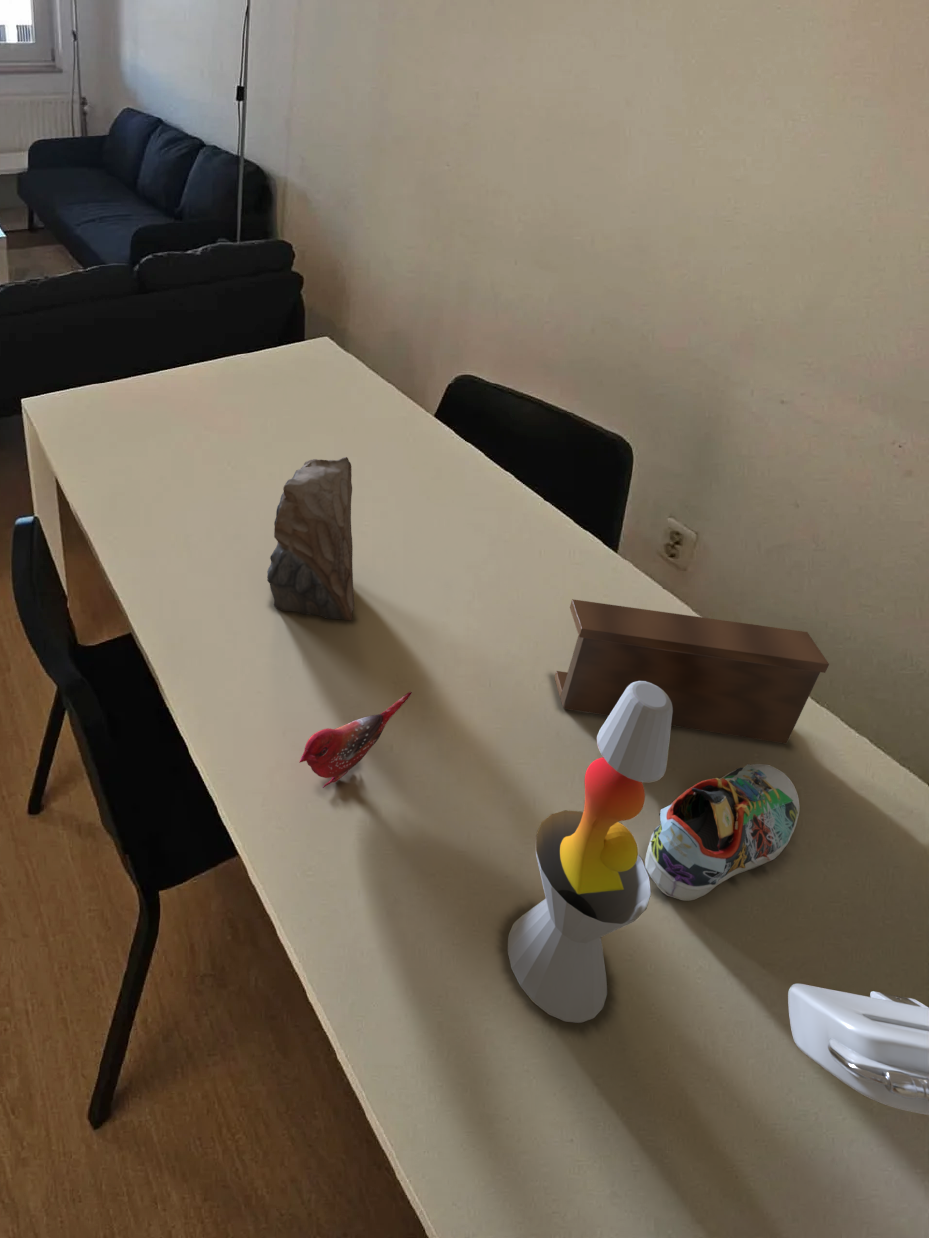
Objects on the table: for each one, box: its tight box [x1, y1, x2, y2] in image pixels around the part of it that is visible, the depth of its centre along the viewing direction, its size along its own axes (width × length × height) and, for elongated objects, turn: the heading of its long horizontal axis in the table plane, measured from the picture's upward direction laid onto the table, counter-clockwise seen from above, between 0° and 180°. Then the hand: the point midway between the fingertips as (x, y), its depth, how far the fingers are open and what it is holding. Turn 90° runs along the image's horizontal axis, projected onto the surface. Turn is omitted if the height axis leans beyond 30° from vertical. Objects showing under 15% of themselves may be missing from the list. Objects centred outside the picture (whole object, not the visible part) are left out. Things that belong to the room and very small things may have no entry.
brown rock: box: [266, 456, 355, 621], centre depth 110 cm, size 13×13×20 cm
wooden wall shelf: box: [554, 598, 830, 745], centre depth 93 cm, size 27×5×13 cm, turn 81°
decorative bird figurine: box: [299, 691, 413, 789], centre depth 86 cm, size 3×18×10 cm, turn 126°
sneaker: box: [644, 763, 800, 901], centre depth 79 cm, size 8×21×10 cm, turn 118°
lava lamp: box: [507, 681, 673, 1024], centre depth 63 cm, size 9×9×35 cm
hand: (892, 1007), depth 57 cm, fingers closed
